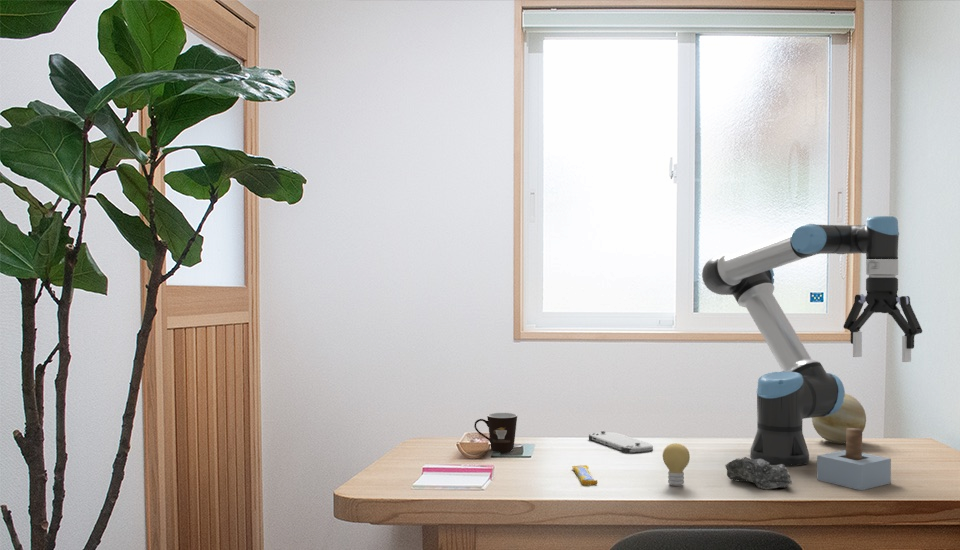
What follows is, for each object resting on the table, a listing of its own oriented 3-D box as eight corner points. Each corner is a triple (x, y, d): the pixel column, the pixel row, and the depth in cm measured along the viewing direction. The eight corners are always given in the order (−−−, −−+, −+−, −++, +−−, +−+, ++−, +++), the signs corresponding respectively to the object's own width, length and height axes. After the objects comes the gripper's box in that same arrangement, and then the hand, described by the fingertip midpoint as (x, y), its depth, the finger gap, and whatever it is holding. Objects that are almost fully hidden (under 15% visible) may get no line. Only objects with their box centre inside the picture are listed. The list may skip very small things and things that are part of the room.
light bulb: (684, 489, 210) (684, 447, 210) (658, 486, 214) (658, 444, 213) (693, 483, 216) (693, 442, 215) (667, 480, 219) (668, 440, 219)
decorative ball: (806, 437, 271) (806, 388, 271) (857, 438, 269) (858, 389, 269) (818, 447, 256) (818, 396, 256) (872, 449, 254) (873, 397, 254)
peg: (845, 478, 217) (846, 430, 216) (845, 475, 220) (846, 427, 220) (861, 480, 215) (862, 431, 215) (861, 477, 219) (862, 428, 218)
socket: (861, 490, 209) (861, 464, 209) (817, 479, 219) (817, 455, 219) (890, 483, 216) (890, 458, 216) (846, 473, 226) (846, 449, 226)
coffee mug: (522, 449, 255) (522, 414, 255) (507, 454, 248) (507, 419, 248) (488, 444, 261) (488, 410, 261) (472, 449, 254) (472, 415, 254)
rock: (722, 474, 222) (725, 444, 217) (770, 464, 224) (774, 434, 218) (745, 511, 211) (749, 480, 206) (795, 501, 213) (800, 470, 207)
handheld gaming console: (657, 443, 252) (627, 446, 248) (657, 452, 252) (627, 455, 248) (613, 428, 273) (585, 431, 269) (613, 437, 273) (585, 440, 269)
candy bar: (598, 487, 214) (598, 480, 214) (581, 487, 214) (581, 480, 214) (588, 471, 231) (588, 463, 231) (572, 471, 231) (572, 464, 231)
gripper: (830, 275, 236) (829, 355, 237) (920, 277, 215) (920, 364, 216) (847, 275, 240) (846, 353, 241) (937, 277, 220) (937, 362, 220)
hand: (881, 359), depth 228 cm, fingers open, 13 cm apart
